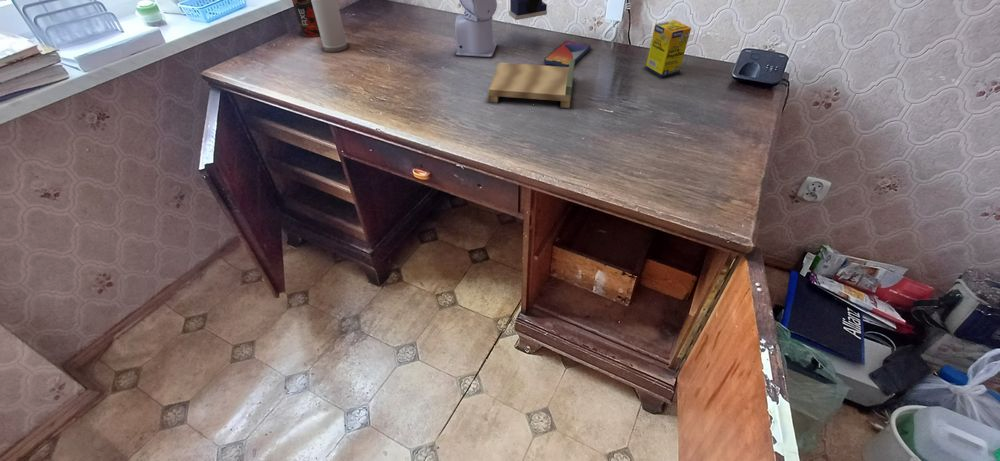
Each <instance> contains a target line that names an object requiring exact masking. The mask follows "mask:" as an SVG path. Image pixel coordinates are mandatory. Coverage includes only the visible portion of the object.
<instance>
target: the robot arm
mask: <svg viewBox="0 0 1000 461" xmlns="http://www.w3.org/2000/svg"><path fill="white" fill-rule="evenodd" d="M538 3H539V0H527V8H528V12H529V13H532V12H536V10H537V7H538ZM459 4H460V5H461V6H462V8H463V10H464V11H463V14H457V16H456V18H455V23H454V24H455V25H454V28H455V29H454V31H455V32H454V33H455V46H456V53H455V54H456V56H466V57H478V58H479V57H480V58H492V57H493V56H494V52H495V50H496V49H497V43H494V33H493V32H494V31H493V26H494V24H493V20H494V19H493V16H494V15H495V13H496V11H497V8H498V2H497V0H459Z"/></svg>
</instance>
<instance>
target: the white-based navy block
mask: <svg viewBox="0 0 1000 461" xmlns="http://www.w3.org/2000/svg"><path fill="white" fill-rule="evenodd" d="M509 5H510V6H509V10H508V16H510V17H511V18H512V19H514V21H519V20H524V19H525V20H526V19H529V18H535V17H540V16H541V17H542V16H546V15H547V14H548V10H547V9H548V4H547V3H546V2H544V1H543V0H539V3H538V7H537V10H536V12H532V13H529V12H528V8H527V0H510V4H509Z"/></svg>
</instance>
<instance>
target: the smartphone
mask: <svg viewBox="0 0 1000 461" xmlns="http://www.w3.org/2000/svg"><path fill="white" fill-rule="evenodd" d="M590 50H591V45H590V44H587V43H581V42H577V41H572V40H565V41H563V42H562V43H561V44H560V45H558V46H557V47H556V48H555V49H554V50H552V51H551V52H550V53H549V54H548V55H546V56H545V57H544V59H543V62H544V64H546V65H548V66H558V67H569V62H570V59H575V64H576V63H577V62H579V60H580V59H582V57H584V56H585V55H586V54H587V53H588V52H589V51H590Z"/></svg>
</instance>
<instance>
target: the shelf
mask: <svg viewBox="0 0 1000 461" xmlns="http://www.w3.org/2000/svg"><path fill="white" fill-rule="evenodd" d="M575 64H576V63H575V59H570V62H569V67H560V66H556V65H543V64H542V65H541V64H527V63H512V62H511V63H510V62H498V64H497V67H496V69H495V72H494V74H493V76H492V80H491V82H490V84H489V87H488V102H489V103H498V102H499V100H500V97H501V98H502V97H503V98H515V99H529V100H541V101H542V100H543V101H544V100H545V101H554V102H560V108H564V109H570V108H571V98H572V91H573V90H572V89H573V83H574V72H575Z"/></svg>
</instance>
